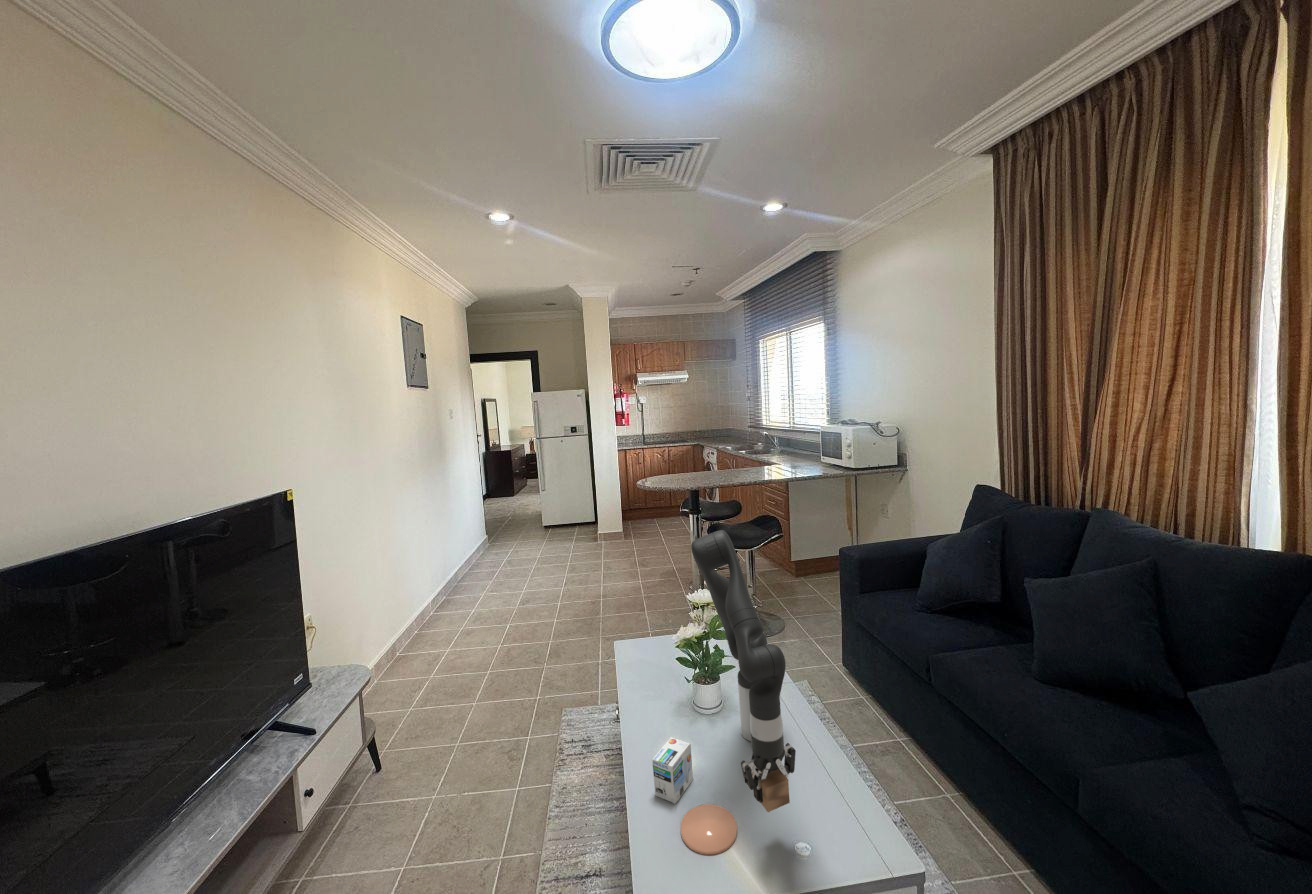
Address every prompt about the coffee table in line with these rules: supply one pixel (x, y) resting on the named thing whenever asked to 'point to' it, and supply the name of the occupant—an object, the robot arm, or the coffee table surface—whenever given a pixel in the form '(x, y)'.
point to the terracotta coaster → (708, 829)
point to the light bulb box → (672, 769)
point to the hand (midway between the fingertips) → (771, 794)
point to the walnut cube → (774, 790)
